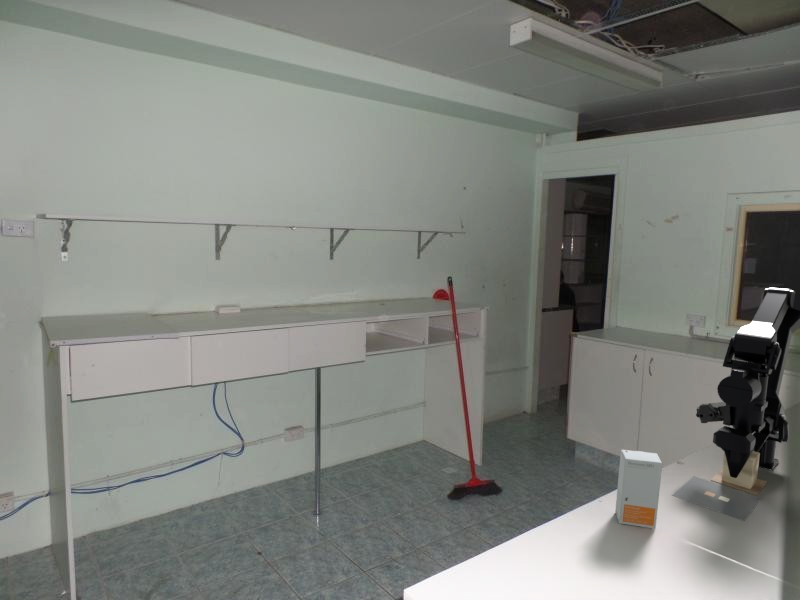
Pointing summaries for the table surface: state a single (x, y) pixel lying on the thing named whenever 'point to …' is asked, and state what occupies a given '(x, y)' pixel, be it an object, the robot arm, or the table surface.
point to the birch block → (743, 472)
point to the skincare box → (638, 488)
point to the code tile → (718, 497)
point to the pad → (754, 490)
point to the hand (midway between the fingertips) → (740, 470)
